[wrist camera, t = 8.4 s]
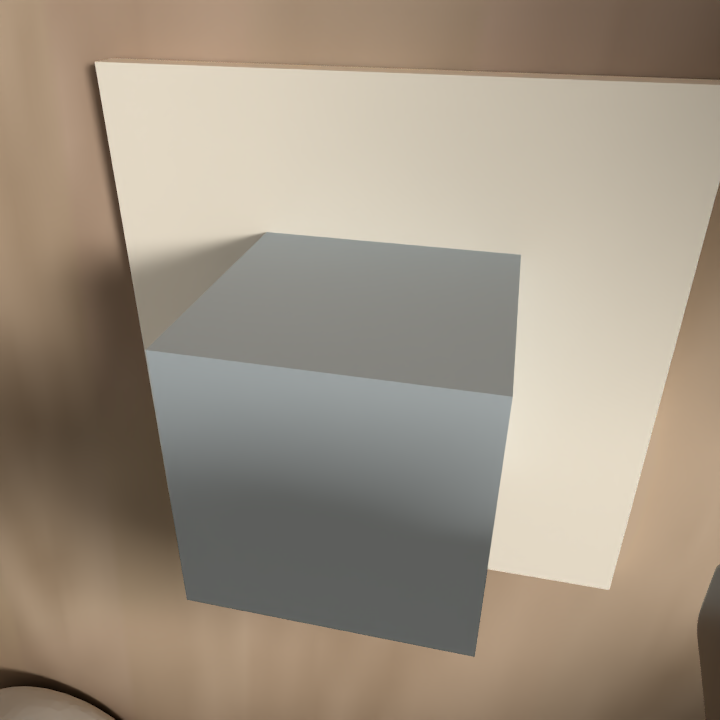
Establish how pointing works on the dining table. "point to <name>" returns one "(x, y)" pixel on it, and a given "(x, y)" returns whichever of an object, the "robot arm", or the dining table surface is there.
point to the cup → (45, 705)
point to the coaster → (452, 236)
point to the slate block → (342, 433)
